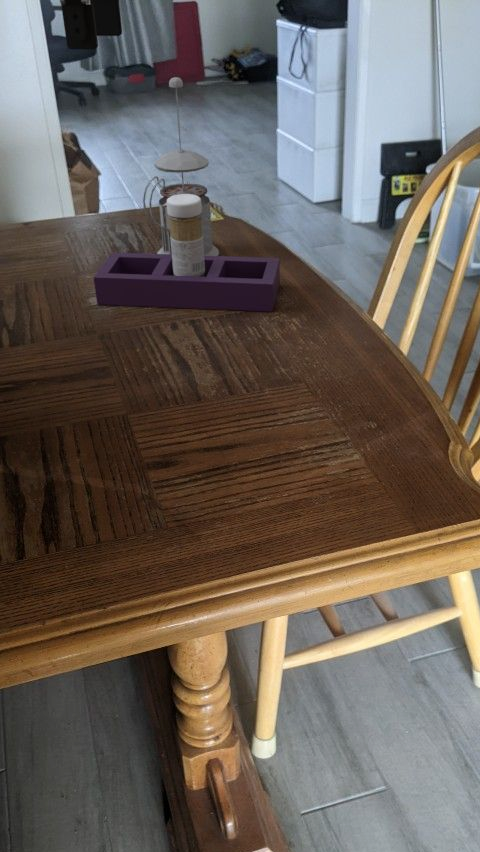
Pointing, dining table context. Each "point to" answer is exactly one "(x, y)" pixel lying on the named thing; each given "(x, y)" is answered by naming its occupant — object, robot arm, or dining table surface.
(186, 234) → the sprinkles bottle
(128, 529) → the dining table surface
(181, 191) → the french press
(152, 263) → the compartment tray
